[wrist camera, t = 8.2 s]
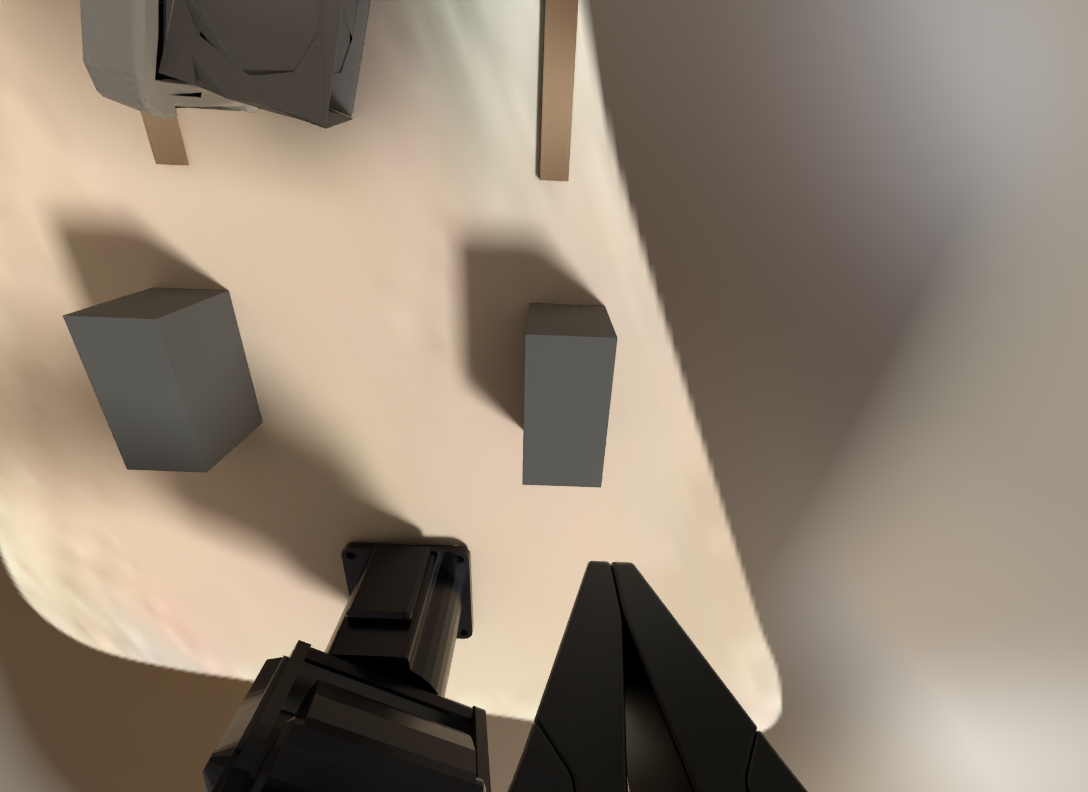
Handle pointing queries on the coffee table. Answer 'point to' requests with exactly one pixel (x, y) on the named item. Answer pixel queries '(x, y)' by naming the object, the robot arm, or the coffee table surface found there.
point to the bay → (554, 102)
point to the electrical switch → (227, 55)
